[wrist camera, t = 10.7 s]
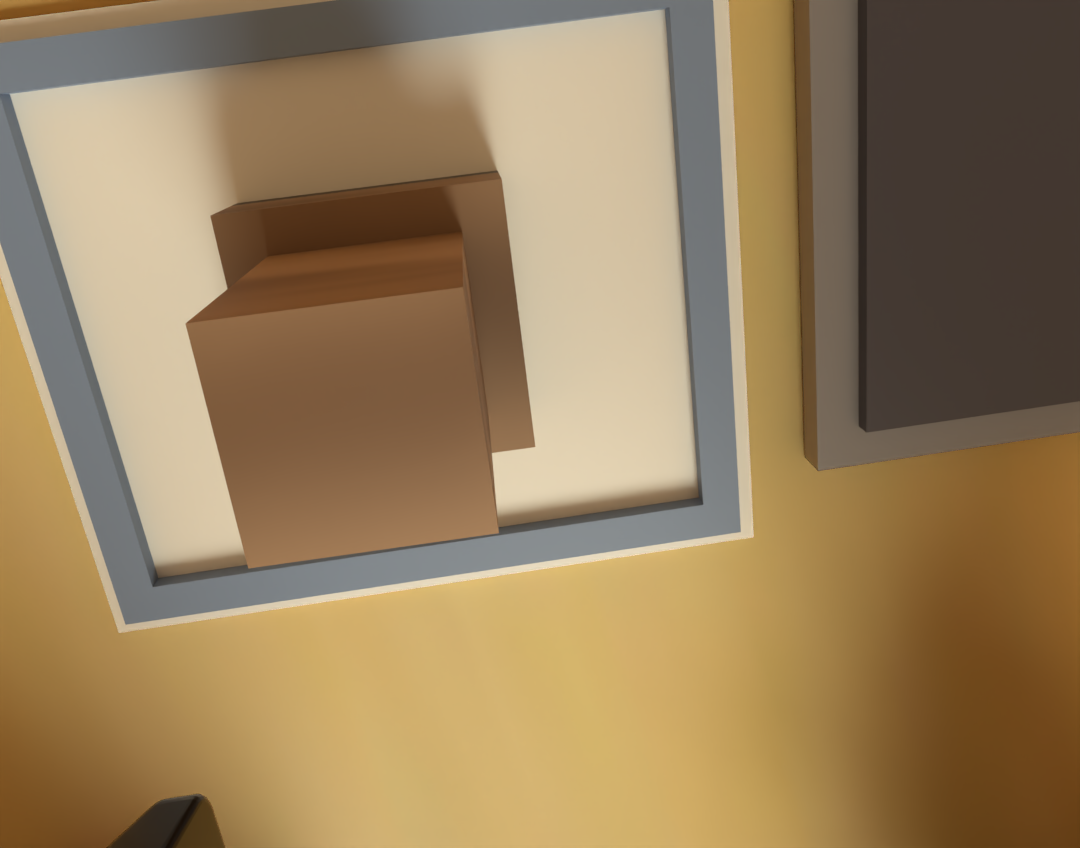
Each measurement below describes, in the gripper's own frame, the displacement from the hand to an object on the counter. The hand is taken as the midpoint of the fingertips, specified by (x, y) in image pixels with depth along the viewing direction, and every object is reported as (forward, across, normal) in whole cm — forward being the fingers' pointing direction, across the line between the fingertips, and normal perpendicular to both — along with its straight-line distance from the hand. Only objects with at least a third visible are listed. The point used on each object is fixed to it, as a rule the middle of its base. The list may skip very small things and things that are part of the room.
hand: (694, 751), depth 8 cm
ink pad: (+12, -11, -3) cm, 16 cm away
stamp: (+11, +3, -2) cm, 12 cm away
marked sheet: (+12, +3, -2) cm, 12 cm away
